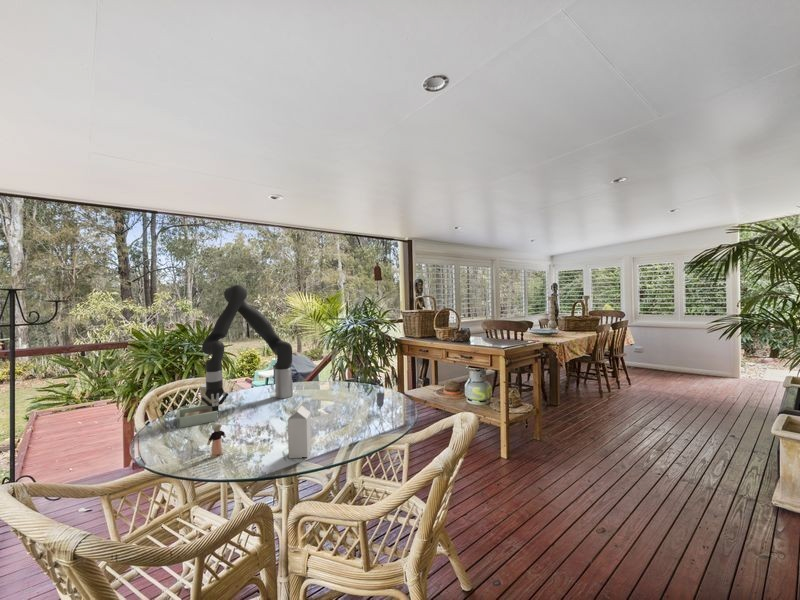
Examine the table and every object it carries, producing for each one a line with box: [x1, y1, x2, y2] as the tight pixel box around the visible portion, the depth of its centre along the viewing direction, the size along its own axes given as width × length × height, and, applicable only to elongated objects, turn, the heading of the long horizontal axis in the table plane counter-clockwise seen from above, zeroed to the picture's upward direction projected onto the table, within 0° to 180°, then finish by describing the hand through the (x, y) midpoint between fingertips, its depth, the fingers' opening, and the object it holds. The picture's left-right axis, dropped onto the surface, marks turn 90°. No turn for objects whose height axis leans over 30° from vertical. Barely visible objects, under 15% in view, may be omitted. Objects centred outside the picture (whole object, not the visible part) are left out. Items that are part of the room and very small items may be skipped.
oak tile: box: [184, 411, 199, 417], centre depth 176 cm, size 6×6×3 cm
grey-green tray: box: [176, 404, 219, 429], centre depth 176 cm, size 17×15×4 cm
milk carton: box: [287, 402, 312, 459], centre depth 136 cm, size 7×7×19 cm
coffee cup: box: [199, 383, 216, 406], centre depth 197 cm, size 9×9×12 cm
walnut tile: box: [199, 408, 212, 414], centre depth 181 cm, size 6×6×3 cm
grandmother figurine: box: [206, 421, 227, 459], centre depth 137 cm, size 8×4×13 cm, turn 164°
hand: (215, 413), depth 180 cm, fingers closed
